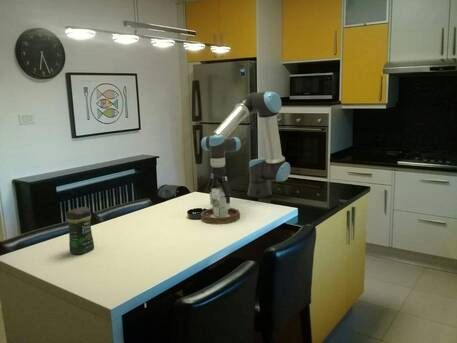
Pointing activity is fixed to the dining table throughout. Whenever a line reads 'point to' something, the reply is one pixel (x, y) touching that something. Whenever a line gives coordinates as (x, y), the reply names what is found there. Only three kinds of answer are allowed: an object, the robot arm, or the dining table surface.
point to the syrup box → (218, 203)
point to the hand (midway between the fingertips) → (219, 206)
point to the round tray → (209, 218)
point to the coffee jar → (80, 230)
